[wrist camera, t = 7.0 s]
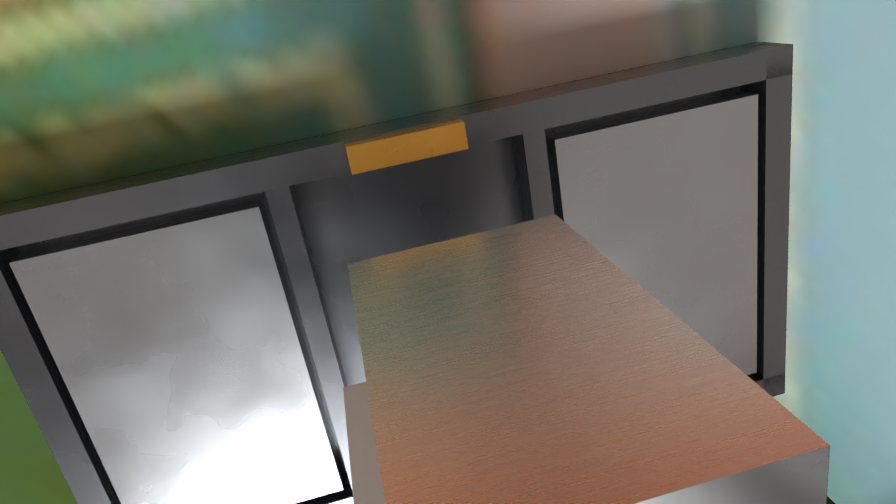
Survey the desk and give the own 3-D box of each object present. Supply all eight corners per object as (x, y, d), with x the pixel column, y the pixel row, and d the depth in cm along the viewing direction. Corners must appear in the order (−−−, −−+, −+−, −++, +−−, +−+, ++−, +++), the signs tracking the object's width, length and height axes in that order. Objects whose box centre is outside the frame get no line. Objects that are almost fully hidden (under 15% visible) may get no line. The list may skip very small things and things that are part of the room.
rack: (130, 548, 21) (114, 600, 19) (-30, 210, 17) (-71, 235, 15) (756, 370, 24) (794, 401, 22) (758, 41, 19) (805, 45, 18)
